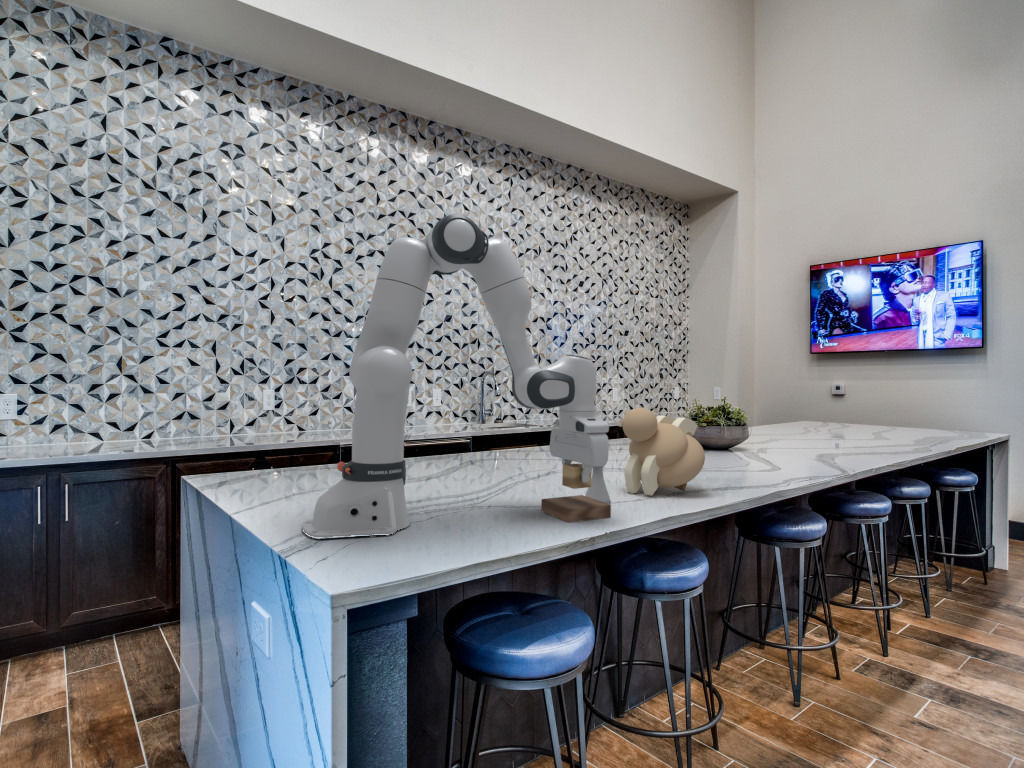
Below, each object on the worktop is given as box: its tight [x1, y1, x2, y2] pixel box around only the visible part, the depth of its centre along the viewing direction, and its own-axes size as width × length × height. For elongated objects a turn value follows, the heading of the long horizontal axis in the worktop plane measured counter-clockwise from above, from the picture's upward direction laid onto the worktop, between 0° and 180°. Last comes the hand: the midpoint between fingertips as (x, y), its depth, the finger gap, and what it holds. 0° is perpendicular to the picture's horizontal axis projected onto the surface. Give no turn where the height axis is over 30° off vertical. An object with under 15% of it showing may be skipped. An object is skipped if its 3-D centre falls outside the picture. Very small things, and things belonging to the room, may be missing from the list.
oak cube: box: [561, 462, 592, 490], centre depth 141 cm, size 5×5×5 cm
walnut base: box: [541, 494, 612, 523], centre depth 141 cm, size 12×12×3 cm
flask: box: [584, 465, 612, 504], centre depth 154 cm, size 7×7×10 cm
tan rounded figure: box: [617, 407, 706, 496], centre depth 169 cm, size 30×28×23 cm
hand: (576, 479), depth 141 cm, fingers closed on oak cube, 5 cm apart
